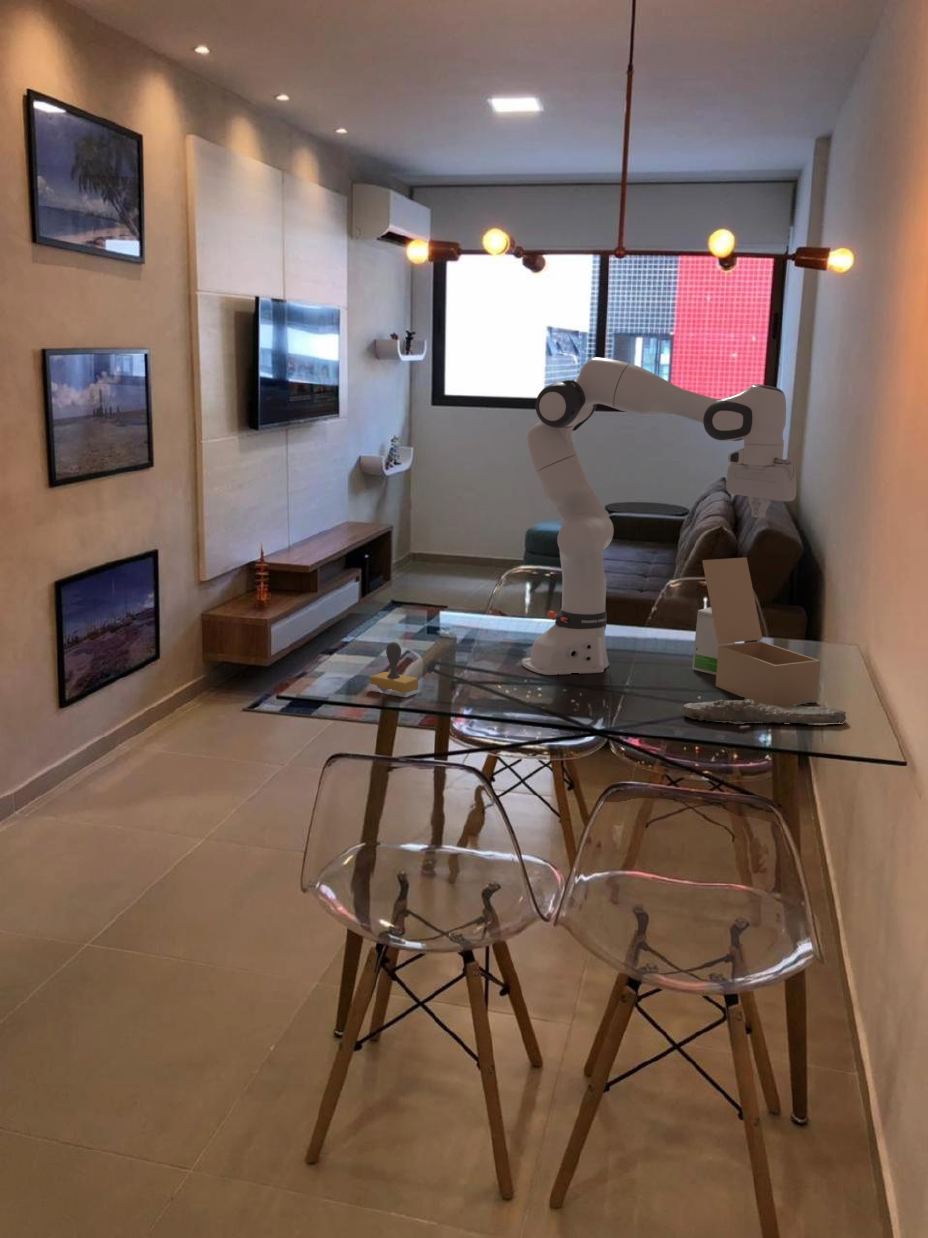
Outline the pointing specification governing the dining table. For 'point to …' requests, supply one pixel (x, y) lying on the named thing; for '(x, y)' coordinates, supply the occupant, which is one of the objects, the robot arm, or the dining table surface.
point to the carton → (767, 673)
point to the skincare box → (706, 643)
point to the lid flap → (732, 600)
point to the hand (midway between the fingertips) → (758, 517)
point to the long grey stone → (761, 712)
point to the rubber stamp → (394, 673)
